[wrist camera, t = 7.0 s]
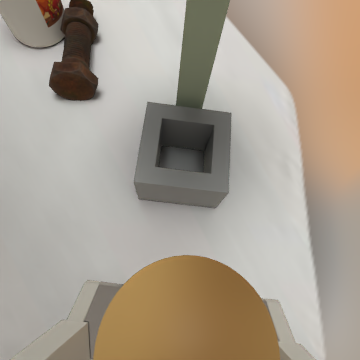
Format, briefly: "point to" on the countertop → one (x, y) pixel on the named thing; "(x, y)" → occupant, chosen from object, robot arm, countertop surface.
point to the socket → (191, 139)
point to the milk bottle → (34, 21)
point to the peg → (186, 315)
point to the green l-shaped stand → (199, 49)
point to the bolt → (76, 53)
